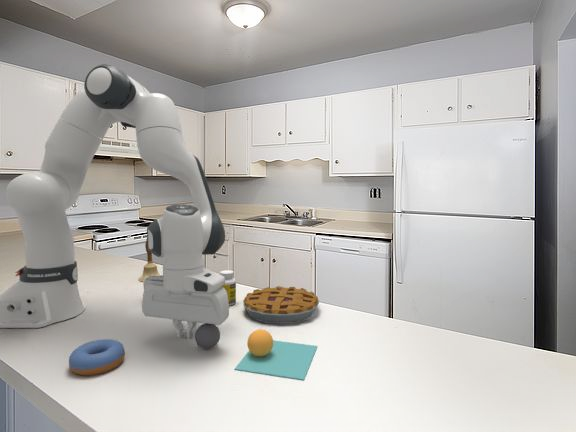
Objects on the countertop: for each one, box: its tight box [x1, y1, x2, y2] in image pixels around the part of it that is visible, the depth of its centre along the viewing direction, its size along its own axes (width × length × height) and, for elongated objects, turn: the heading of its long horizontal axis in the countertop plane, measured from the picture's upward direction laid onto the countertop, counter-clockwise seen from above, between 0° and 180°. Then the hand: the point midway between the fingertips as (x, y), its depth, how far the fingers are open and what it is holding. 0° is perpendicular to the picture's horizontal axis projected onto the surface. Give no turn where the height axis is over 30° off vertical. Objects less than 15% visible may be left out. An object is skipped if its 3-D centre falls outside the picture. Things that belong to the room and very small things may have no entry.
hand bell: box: [138, 239, 160, 283], centre depth 132 cm, size 8×8×16 cm
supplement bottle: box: [219, 269, 237, 307], centre depth 107 cm, size 5×5×10 cm
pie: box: [242, 286, 320, 324], centre depth 102 cm, size 22×22×5 cm
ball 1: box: [194, 323, 221, 350], centre depth 79 cm, size 6×6×6 cm
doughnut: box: [68, 338, 126, 376], centre depth 72 cm, size 10×10×5 cm
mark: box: [234, 339, 318, 381], centre depth 75 cm, size 14×14×1 cm
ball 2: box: [247, 328, 274, 357], centre depth 76 cm, size 6×6×6 cm
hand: (185, 337), depth 80 cm, fingers closed
